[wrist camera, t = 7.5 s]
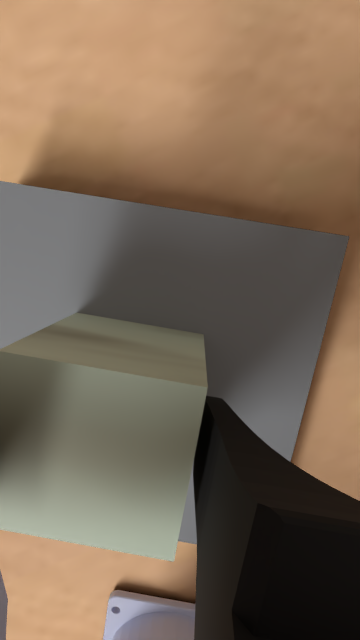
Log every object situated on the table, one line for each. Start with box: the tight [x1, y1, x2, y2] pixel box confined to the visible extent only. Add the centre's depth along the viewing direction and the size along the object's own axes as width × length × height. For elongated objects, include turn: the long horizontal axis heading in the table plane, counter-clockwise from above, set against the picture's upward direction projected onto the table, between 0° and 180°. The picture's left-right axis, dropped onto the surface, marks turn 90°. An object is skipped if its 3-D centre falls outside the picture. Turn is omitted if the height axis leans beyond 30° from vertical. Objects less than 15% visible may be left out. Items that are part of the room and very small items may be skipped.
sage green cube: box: [0, 313, 208, 562], centre depth 10 cm, size 5×5×5 cm
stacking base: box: [0, 181, 349, 544], centre depth 14 cm, size 14×14×3 cm
